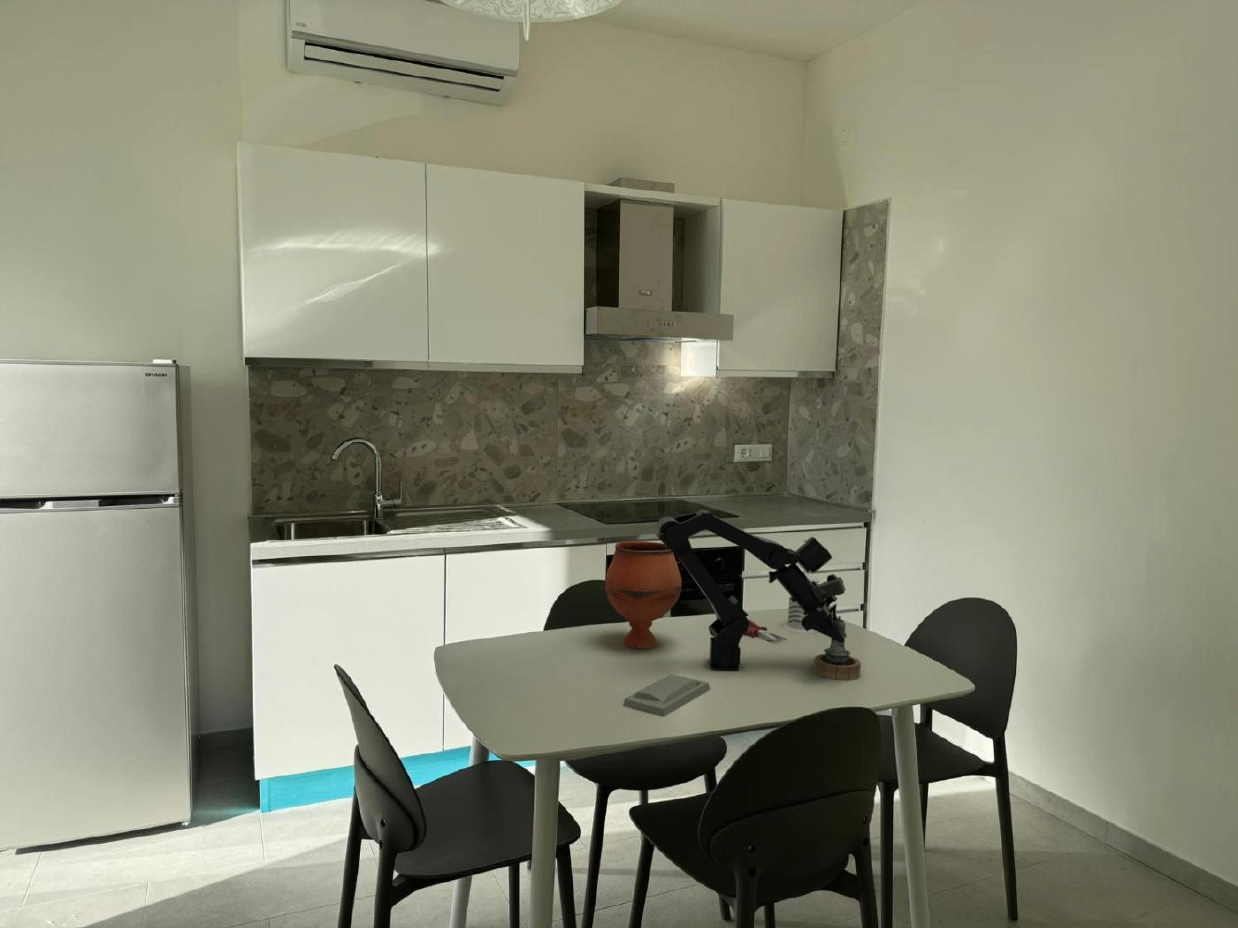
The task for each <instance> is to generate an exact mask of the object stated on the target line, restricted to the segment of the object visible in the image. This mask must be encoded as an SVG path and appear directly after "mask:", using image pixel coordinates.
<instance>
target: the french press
mask: <svg viewBox="0 0 1238 928" xmlns="http://www.w3.org/2000/svg"><path fill="white" fill-rule="evenodd" d="M809 538H810V537H805V538H804V539H803V543H804V544H805V543H806V542H807V540H808V539H809ZM803 573H804V574H805V575H806V576H807V578H808V579H809V580H810V581H812V580H813V581H815V582H816V583H817V584H818V583H819V582H820V581H821V580H820V579H819V578H818V577H817V576H816V575H814V574H812V573H811V574H810V573H809V572H808V573H806V572H805V571H804V572H803ZM791 599H792V597H791V596H790V597H789V598H788V614H787V616H788V618H787V623H786V624H785V625H784V626H783V629H785V630H787V631H789V632H792V633H797V634H803V635H804V634H805V635H806V634H811V635H812V634H818V633H819V632H818V631H816V630H812V629H810V630H809V631H806V630H805V629H804V627H803V626H802V618H803V617H804V616H805V615H804V614H803V612H804V611H803V610H802V608H801V607H800V606H799V605H798V604H797V603H796V601H795V602H793V601H792V600H791Z"/></svg>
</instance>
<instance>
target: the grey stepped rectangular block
mask: <svg viewBox="0 0 1238 928" xmlns="http://www.w3.org/2000/svg"><path fill="white" fill-rule="evenodd" d="M711 689H712V688H711V686H710V682H708V681H703V680H699V679H694V678H690V677H686V676H684V675H681V676H680V675H677V674H676V675H675V674H669V675H668V676H667V675H666V676H665V677H663V678H660V679H659V680H656V681H655V682H653V683H651V684H649V685H647V686H645V687H643V688H642V689H639V690H638V691H637V690H636V692H635V693H633V694H631V695H629V696H627V697H625V698H624V700H623V703H622V706H623V707H626V708H629V709H630V708H631V709H634V710H638V711H641V712H646V713H650V714H652V715H653V714H654V715H657V716H661V717H667V716H669V715H670V714H672V713H673V712H675V711H676V710H678V709H680V708H681V707H684V706H686V705H687V704H688V703H690V702H692V701H694V700H696V699H697V698H699V697H700V696H702V695H704V694H706V693H707V692H709V691H711Z"/></svg>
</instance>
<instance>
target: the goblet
mask: <svg viewBox="0 0 1238 928" xmlns="http://www.w3.org/2000/svg"><path fill="white" fill-rule="evenodd" d="M682 582H683V581H682V576H681V572H680V569H679V566H678V564H677V561H676V558H675V554H674V553H673V552H672V551H671V550H670V549H669V548H668V547H667V546H666V545H665V544H664V543H663V542H654V541H653V542H652V541H646V540H645V541H644V540H630V541H629V540H625V541H619V542H617V543H616V544H615V550H614V554H613V557H612V560H611V562H610V565H609V567H608V568H607V571H606V575H605V583H604V584H605V592H606V595H607V596H606V597H607V599H608V601H609V602H610V604H611V606H612V608H613V609H614V610H615V611H616V612H618V614H619V615H620V616H621V617H623V618H624V619H625V620H628V625H629V627H630V628H631V630H630V631H629V632H628V633H627V634H626V635H625V636H624V638H623V640H622V644H623V643H624V644H623V645H625V646H627V647H629V648H633V647H634V648H633V649H635V648H636V649H652V648H654V646H655V647H657V646H658V642H657V639H656V637H655V635H654V634H653V633H652V632H651V630H650V628H651V627H652V626H653V622H654V621H656V620H659V619H660V618H661V617H663V616H665V615H666V614H667V613H668V612H670V611H671V610H672V609H673V607H674V606H675V605H676V603H677V602H678V600H679V598H680V595H681V592H682V584H683V583H682ZM656 645H657V646H656Z"/></svg>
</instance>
